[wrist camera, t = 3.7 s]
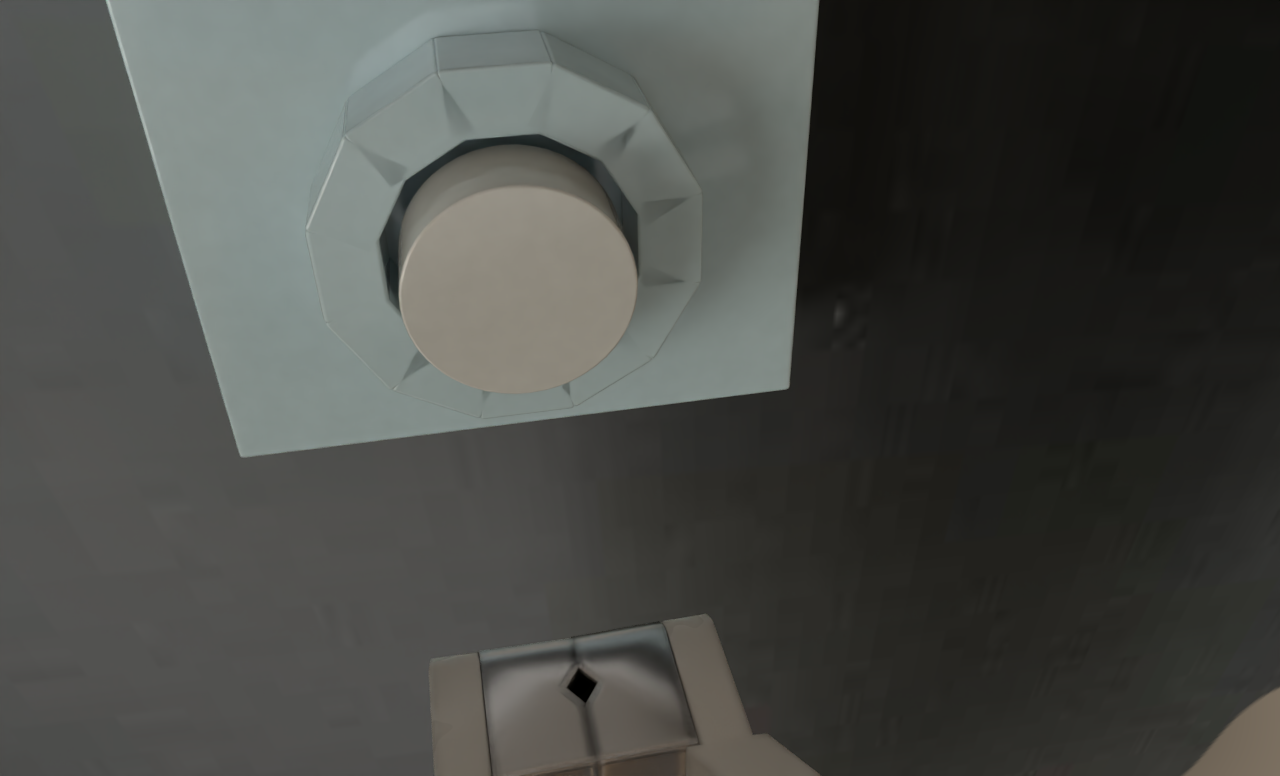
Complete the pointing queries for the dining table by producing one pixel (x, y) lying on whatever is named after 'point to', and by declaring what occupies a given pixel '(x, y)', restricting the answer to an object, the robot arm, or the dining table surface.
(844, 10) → the dining table surface
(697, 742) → the robot arm
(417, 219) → the flush button
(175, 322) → the dining table surface
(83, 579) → the dining table surface
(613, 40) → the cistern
